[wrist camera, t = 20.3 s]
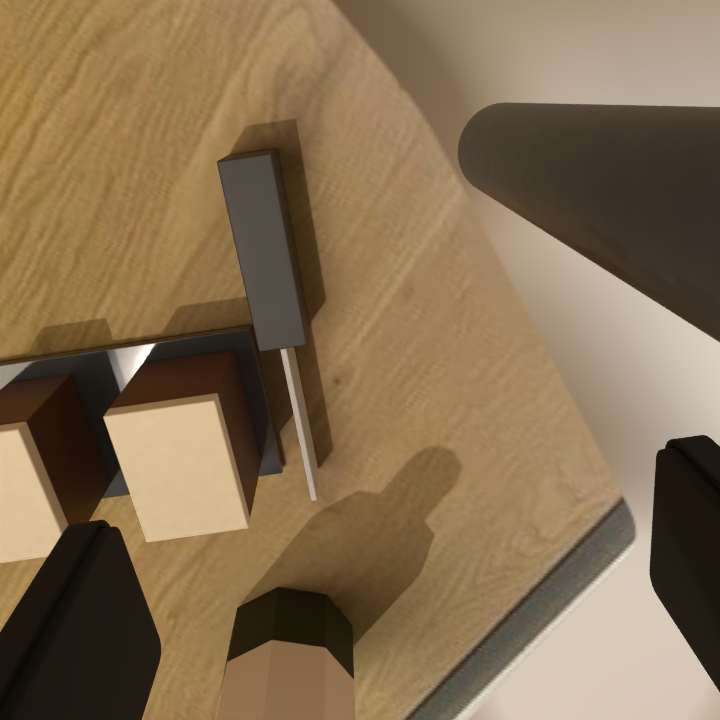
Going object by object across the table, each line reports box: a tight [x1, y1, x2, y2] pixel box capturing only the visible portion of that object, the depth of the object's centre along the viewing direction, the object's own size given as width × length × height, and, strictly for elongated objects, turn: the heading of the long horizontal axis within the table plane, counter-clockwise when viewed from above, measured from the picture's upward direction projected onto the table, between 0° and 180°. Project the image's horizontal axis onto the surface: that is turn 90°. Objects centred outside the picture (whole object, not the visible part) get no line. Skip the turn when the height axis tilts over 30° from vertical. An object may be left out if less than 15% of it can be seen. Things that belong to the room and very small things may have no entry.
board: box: [0, 325, 283, 498], centre depth 34 cm, size 15×9×1 cm, turn 98°
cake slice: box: [0, 374, 111, 563], centre depth 31 cm, size 4×7×6 cm, turn 8°
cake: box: [103, 350, 262, 542], centre depth 31 cm, size 5×7×6 cm
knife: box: [217, 148, 318, 501], centre depth 31 cm, size 18×2×3 cm, turn 8°
